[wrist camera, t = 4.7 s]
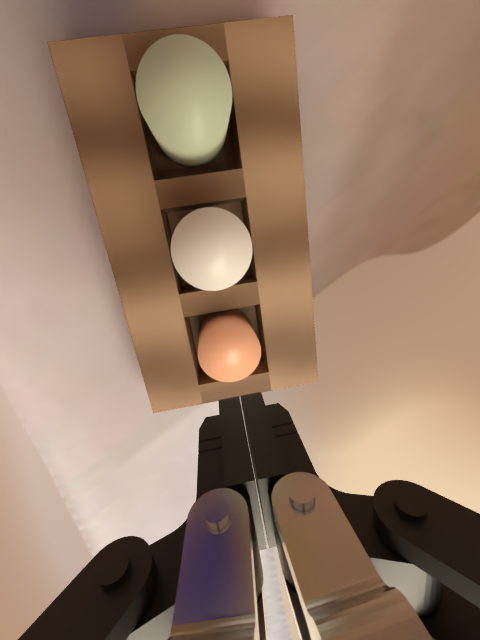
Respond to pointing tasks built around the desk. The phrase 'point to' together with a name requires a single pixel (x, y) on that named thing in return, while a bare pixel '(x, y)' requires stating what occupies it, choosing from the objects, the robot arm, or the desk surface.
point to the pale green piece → (185, 98)
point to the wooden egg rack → (199, 205)
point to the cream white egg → (211, 249)
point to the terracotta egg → (228, 346)
